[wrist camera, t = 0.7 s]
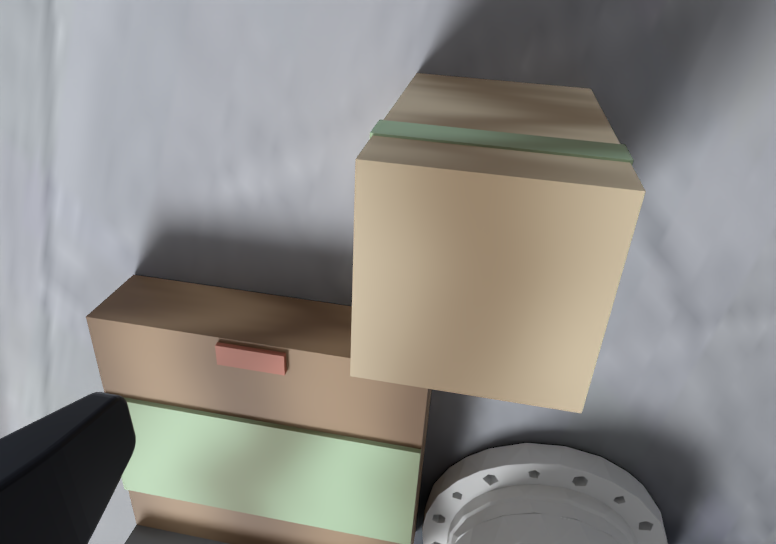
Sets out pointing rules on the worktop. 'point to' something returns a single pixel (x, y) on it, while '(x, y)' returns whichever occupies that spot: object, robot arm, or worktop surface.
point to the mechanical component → (540, 500)
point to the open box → (256, 420)
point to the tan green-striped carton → (489, 240)
